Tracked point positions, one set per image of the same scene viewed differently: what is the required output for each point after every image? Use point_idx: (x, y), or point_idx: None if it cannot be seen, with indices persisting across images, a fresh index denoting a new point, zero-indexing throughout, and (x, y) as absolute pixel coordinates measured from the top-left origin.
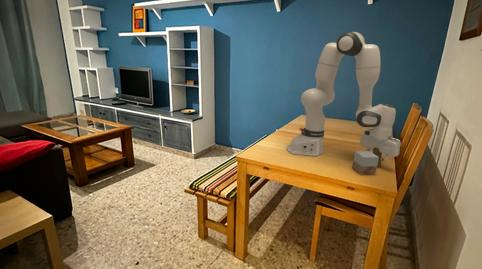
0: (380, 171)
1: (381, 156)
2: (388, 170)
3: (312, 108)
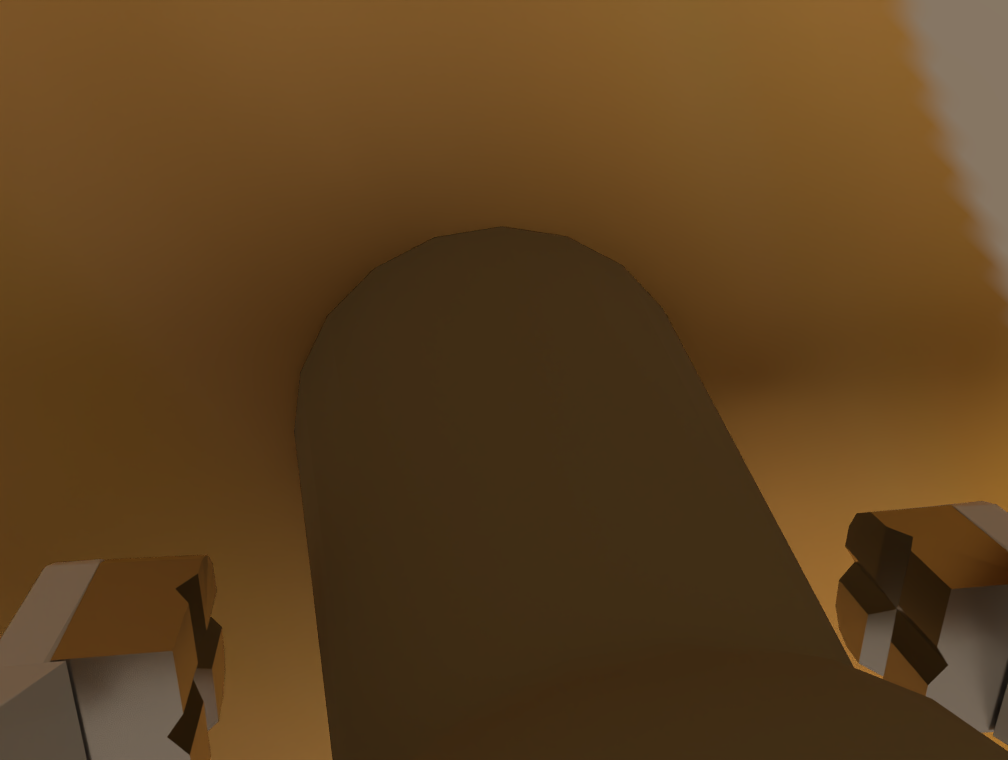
0: None
1: (801, 574)
2: (952, 385)
3: None
